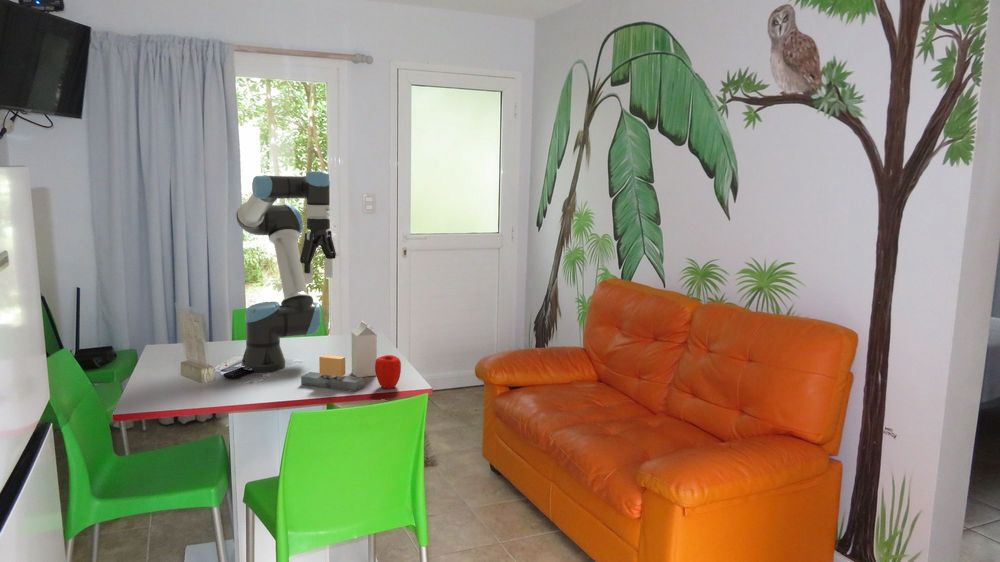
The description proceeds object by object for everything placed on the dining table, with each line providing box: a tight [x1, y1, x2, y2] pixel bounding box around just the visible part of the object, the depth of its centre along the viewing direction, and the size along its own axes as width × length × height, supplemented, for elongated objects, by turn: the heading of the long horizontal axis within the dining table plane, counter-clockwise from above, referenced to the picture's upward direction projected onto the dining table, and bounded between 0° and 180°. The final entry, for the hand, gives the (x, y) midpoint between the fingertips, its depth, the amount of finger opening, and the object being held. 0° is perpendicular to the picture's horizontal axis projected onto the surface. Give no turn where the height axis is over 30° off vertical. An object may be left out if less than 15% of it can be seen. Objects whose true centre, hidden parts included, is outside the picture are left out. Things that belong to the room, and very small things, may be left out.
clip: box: [318, 354, 346, 380], centre depth 239 cm, size 8×3×10 cm, turn 75°
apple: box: [375, 354, 402, 389], centre depth 239 cm, size 9×9×11 cm
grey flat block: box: [300, 371, 365, 392], centre depth 240 cm, size 20×6×3 cm, turn 75°
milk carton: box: [351, 320, 378, 378], centre depth 253 cm, size 7×7×19 cm
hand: (318, 280), depth 242 cm, fingers open, 13 cm apart
